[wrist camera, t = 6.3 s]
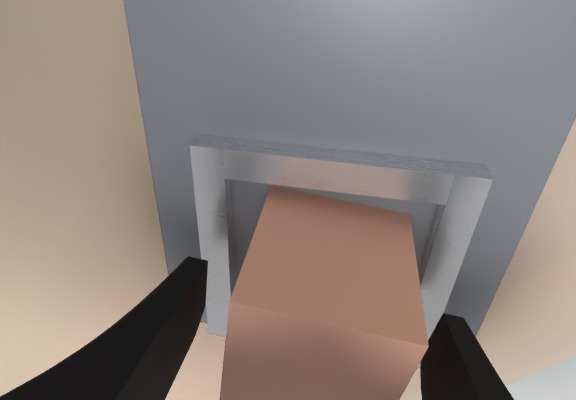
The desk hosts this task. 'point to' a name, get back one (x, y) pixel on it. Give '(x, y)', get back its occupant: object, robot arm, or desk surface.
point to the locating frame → (336, 178)
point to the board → (361, 104)
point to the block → (325, 304)
